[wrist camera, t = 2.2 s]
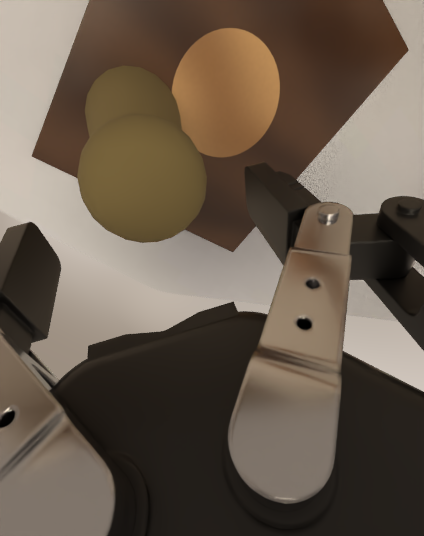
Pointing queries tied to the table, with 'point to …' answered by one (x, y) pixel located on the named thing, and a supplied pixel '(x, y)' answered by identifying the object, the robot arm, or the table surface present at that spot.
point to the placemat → (231, 84)
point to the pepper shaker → (139, 158)
